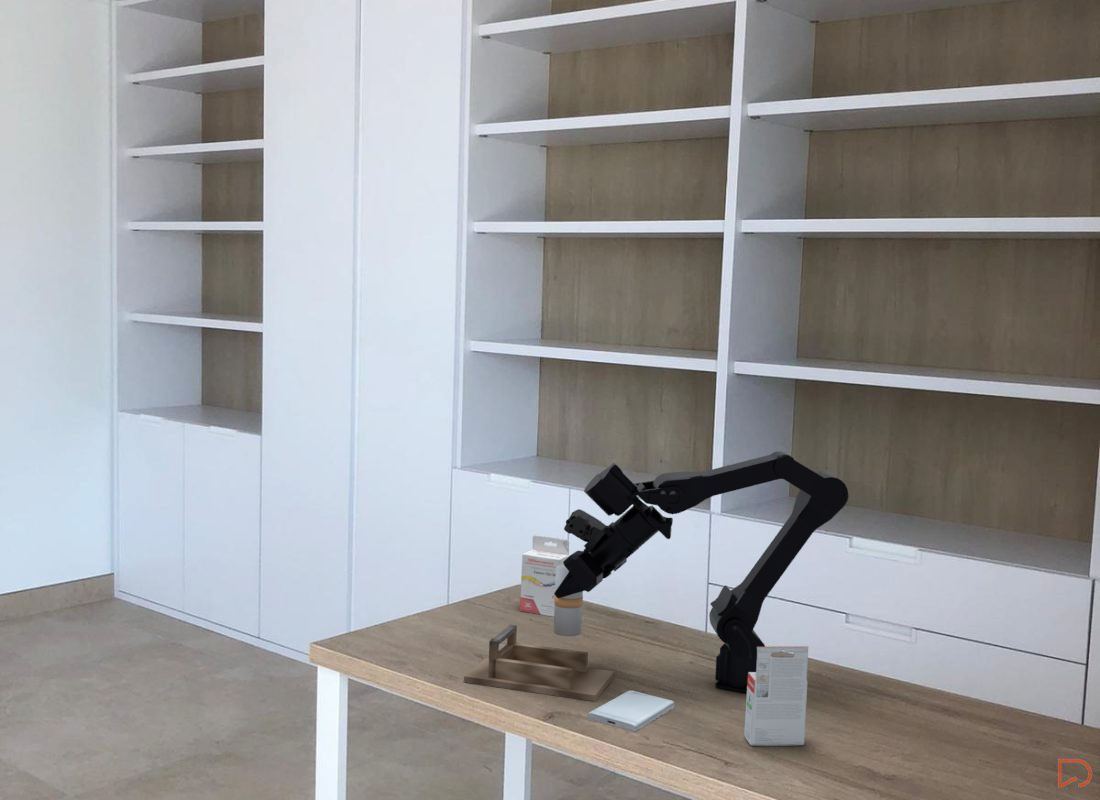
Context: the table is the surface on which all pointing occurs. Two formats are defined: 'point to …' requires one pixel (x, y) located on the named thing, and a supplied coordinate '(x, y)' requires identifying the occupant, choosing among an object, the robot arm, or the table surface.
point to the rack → (539, 669)
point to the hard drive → (631, 710)
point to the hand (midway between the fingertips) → (560, 592)
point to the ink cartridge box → (541, 574)
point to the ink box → (777, 698)
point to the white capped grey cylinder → (567, 608)
